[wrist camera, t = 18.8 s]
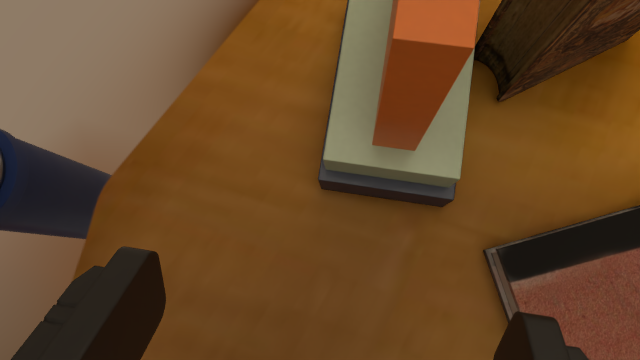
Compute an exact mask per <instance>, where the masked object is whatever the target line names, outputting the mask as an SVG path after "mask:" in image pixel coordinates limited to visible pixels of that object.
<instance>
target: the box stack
mask: <svg viewBox="0 0 640 360" xmlns="http://www.w3.org/2000/svg"><path fill="white" fill-rule="evenodd" d="M392 4H393V0H348V2H347V8H346V14H345V20H344V26H343V32H342V38H341V44H340V50H339V56H338V62H337V68H336V74H335V80H334V86H333V92H332V98H331V104H330V110H329V117H328V123H327V129H326V135H325V141H324V147H323V153H322V159H321V165H320V171H319V177H318V180H319V183H320V186H321V189H326V190H333V191H339V192H346V193H353V194H359V195H366V196H372V197H379V198H386V199H392V200H399V201H406V202H412V203H419V204H425V205H432V206H439V207H443V206H445V205H446V204H448V203H450V202H451V201H453V200H454V194H455V186H456V182H457V181H458V180H460V175H461V166H462V157H463V148H464V140H465V131H466V122H467V113H468V104H469V95H470V86H471V77H472V68H473V59H474V51H475V48H474V49H473V51H472V53H471V55H470V56H469V58H468V60H467V62H466V63H465V65H464V67H463V68H462V70H461V72H460V74H459V75H458V77H457V79H456V81H455V82H454V84H453V86H452V88H451V89H450V91H449V93H448V95H447V96H446V98H445V100H444V102H443V103H442V105H441V107H440V108H439V110H438V112H437V114H436V115H435V117H434V119H433V121H432V122H431V124H430V126H429V128H428V129H427V131H426V133H425V135H424V136H423V138H422V140H421V142H420V143H419V145H418V147H417V148H416V150H415V151H411V150H404V149H397V148H390V147H383V146H375V145H372V141H373V134H374V127H375V120H376V113H377V106H378V100H379V93H380V86H381V79H382V72H383V65H384V59H385V52H386V45H387V38H388V31H389V24H390V17H391V11H392ZM479 6H480V3H479ZM478 15H479V12H478ZM477 24H478V21H477ZM476 33H477V30H476ZM475 42H476V39H475Z"/></svg>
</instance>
